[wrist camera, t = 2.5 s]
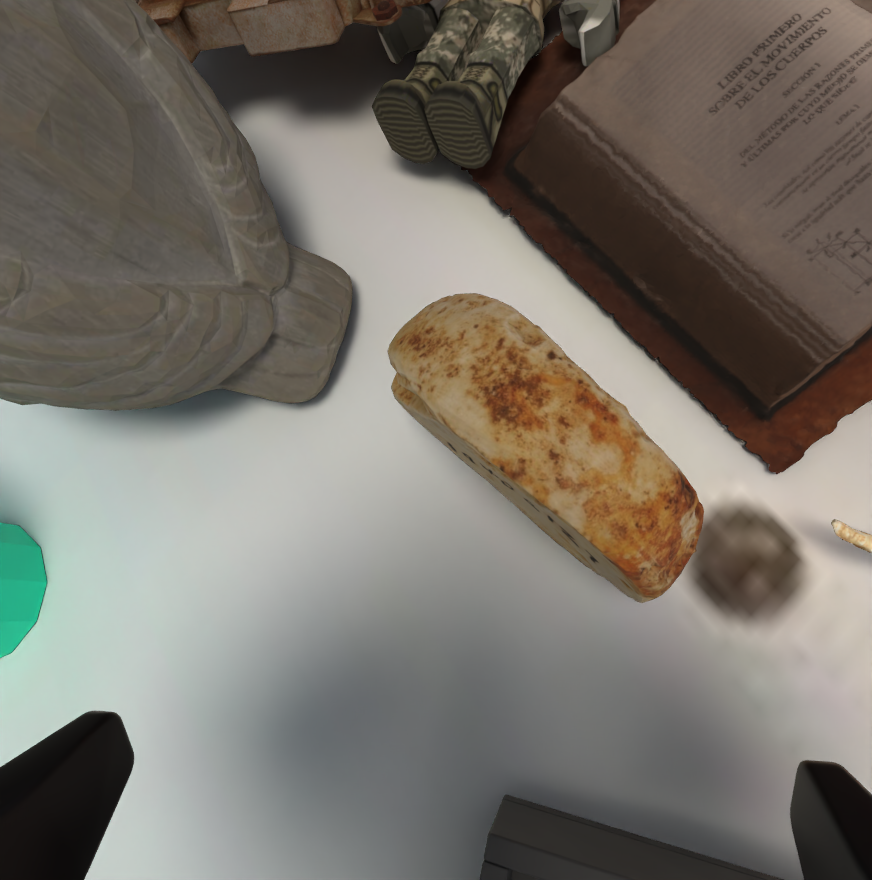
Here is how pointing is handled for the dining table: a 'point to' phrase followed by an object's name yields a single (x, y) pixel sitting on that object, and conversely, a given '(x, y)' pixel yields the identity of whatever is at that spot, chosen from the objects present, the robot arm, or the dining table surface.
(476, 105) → the toy
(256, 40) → the telephone
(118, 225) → the figurine
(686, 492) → the tan stone disc
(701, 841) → the dining table surface
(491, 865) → the bin
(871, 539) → the tan seashell
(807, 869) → the robot arm
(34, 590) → the candle
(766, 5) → the book
